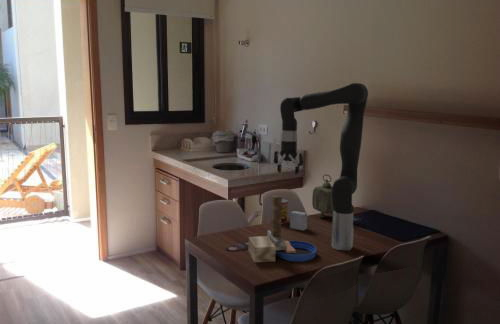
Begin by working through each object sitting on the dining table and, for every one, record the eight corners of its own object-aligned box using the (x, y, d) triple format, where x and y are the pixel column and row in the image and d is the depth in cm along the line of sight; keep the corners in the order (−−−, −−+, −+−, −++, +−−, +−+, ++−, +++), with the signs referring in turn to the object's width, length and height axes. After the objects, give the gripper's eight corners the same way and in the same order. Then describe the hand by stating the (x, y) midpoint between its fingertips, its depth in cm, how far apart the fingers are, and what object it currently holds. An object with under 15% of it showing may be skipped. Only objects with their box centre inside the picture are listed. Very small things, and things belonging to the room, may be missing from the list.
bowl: (301, 245, 211) (301, 238, 211) (324, 258, 196) (324, 250, 195) (267, 251, 203) (268, 243, 202) (289, 265, 187) (289, 257, 187)
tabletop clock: (339, 219, 254) (341, 176, 250) (327, 221, 249) (329, 177, 245) (322, 213, 266) (324, 171, 262) (310, 215, 261) (312, 173, 257)
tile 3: (281, 246, 200) (281, 244, 200) (279, 243, 204) (279, 241, 204) (290, 245, 201) (290, 243, 201) (288, 242, 205) (288, 240, 204)
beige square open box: (254, 262, 189) (254, 247, 188) (248, 250, 202) (248, 236, 201) (286, 260, 191) (287, 246, 190) (278, 249, 205) (278, 235, 204)
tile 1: (286, 253, 192) (286, 250, 191) (284, 249, 195) (284, 247, 195) (295, 252, 192) (295, 250, 192) (293, 249, 196) (293, 247, 196)
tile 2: (283, 249, 195) (283, 247, 195) (280, 246, 199) (281, 244, 199) (292, 249, 196) (292, 247, 196) (289, 246, 200) (289, 244, 200)
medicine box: (306, 229, 236) (307, 213, 234) (303, 231, 232) (303, 214, 231) (293, 226, 240) (294, 210, 239) (289, 228, 236) (290, 212, 235)
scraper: (275, 247, 189) (276, 200, 186) (267, 235, 203) (268, 192, 200) (284, 246, 190) (286, 200, 186) (275, 235, 204) (277, 192, 201)
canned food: (276, 224, 242) (276, 202, 241) (270, 220, 250) (270, 199, 248) (289, 223, 245) (290, 201, 243) (283, 219, 253) (283, 198, 251)
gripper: (272, 139, 214) (271, 173, 216) (300, 141, 208) (299, 175, 211) (277, 138, 221) (277, 170, 223) (305, 140, 215) (304, 173, 217)
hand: (288, 173), depth 217 cm, fingers open, 8 cm apart
